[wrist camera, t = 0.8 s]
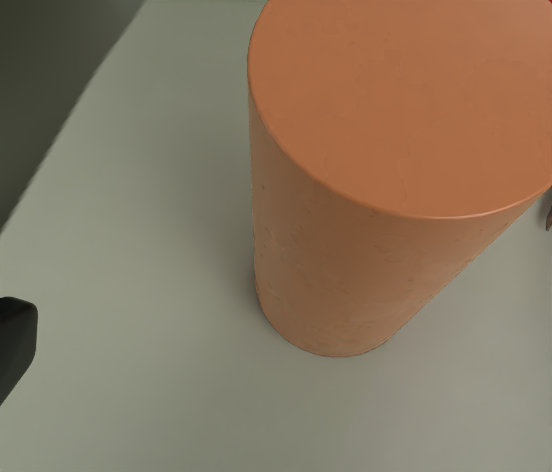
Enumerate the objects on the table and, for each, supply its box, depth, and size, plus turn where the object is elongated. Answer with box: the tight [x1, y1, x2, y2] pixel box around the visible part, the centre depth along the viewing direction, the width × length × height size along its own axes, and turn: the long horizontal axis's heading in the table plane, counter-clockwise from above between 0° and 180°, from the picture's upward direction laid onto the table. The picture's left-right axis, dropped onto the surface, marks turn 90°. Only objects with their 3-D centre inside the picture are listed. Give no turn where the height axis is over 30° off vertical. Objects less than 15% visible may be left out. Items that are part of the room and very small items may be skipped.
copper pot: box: [247, 0, 552, 357], centre depth 17 cm, size 10×7×13 cm
